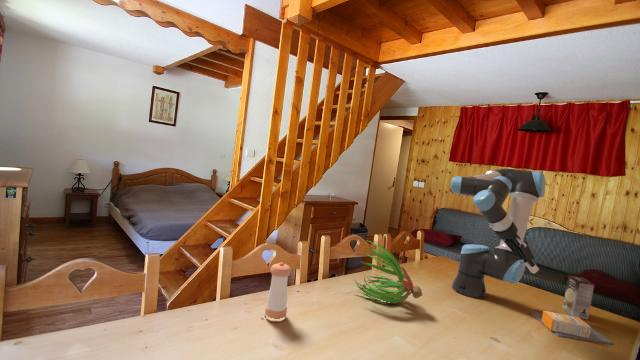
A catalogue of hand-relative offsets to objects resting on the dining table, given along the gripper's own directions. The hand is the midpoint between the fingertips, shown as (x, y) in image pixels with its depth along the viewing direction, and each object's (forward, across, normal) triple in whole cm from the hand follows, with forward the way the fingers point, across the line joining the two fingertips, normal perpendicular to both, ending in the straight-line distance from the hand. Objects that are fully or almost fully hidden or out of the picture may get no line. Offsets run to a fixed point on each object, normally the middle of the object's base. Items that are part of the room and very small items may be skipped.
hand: (535, 271), depth 129 cm
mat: (+28, +1, -3) cm, 28 cm away
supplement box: (+18, +2, -8) cm, 20 cm away
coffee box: (+40, -13, +9) cm, 43 cm away
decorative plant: (-24, -12, -55) cm, 61 cm away
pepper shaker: (-55, +8, -86) cm, 102 cm away
